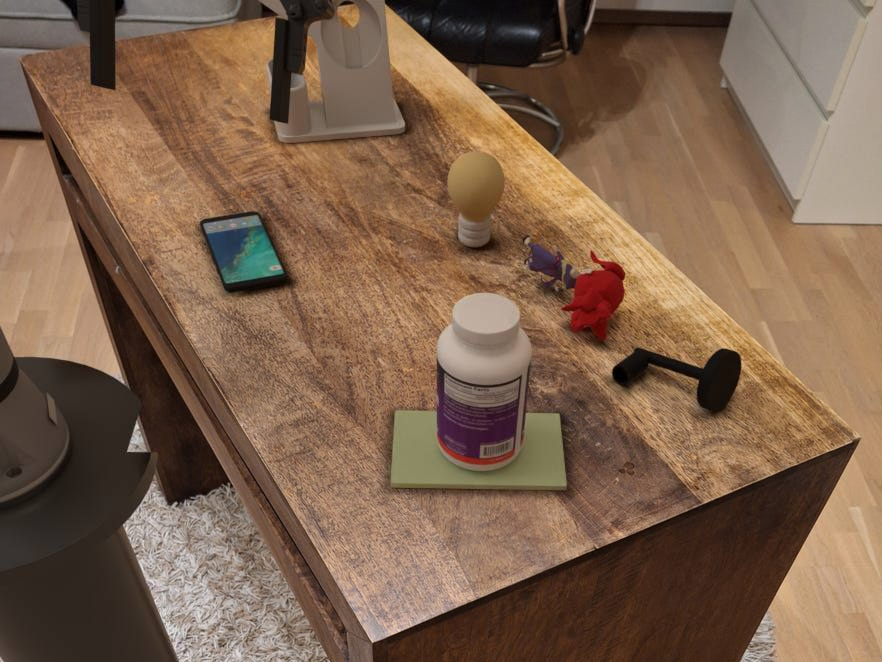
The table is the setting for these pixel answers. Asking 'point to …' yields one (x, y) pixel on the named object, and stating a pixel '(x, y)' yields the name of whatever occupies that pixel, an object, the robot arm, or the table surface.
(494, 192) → the light bulb
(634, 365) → the light fixture
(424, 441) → the mat
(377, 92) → the phone holder
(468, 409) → the pill bottle
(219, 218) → the smartphone
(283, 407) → the table surface
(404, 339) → the table surface
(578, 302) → the figurine
